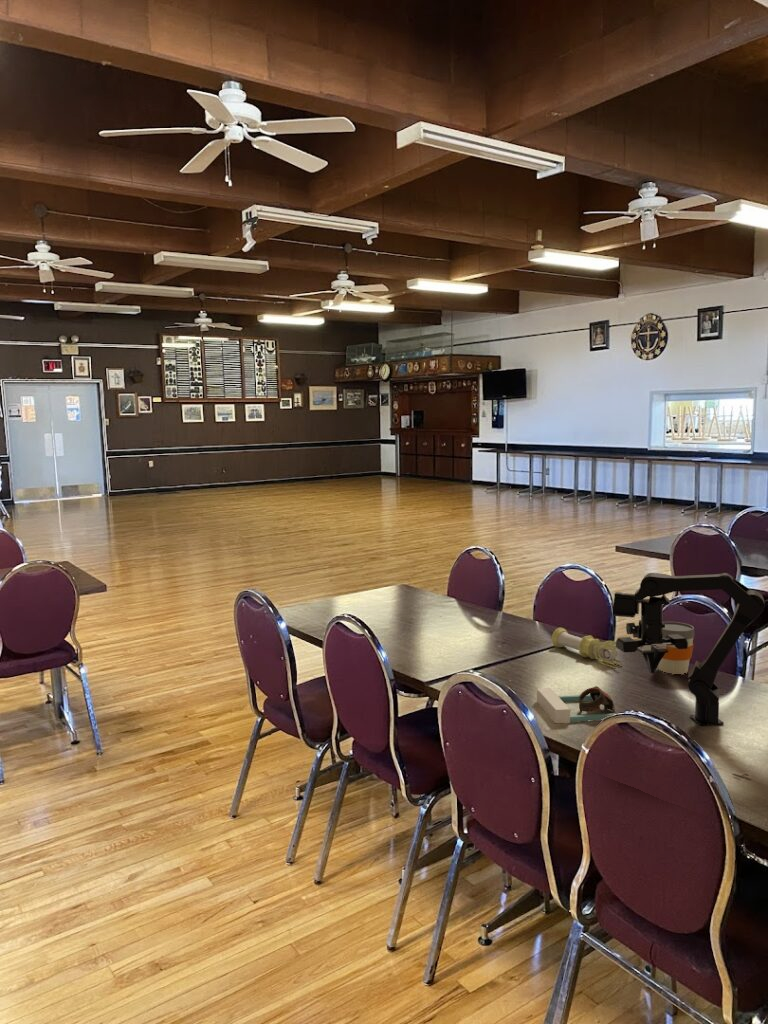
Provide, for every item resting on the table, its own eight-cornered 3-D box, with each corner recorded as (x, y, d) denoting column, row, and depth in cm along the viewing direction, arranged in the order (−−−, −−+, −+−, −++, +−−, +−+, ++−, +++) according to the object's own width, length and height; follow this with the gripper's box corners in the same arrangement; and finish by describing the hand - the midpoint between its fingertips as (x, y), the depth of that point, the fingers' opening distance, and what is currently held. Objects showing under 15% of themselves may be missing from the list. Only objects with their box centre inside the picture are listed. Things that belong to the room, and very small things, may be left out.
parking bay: (624, 720, 204) (624, 706, 203) (555, 724, 202) (556, 709, 201) (600, 698, 220) (600, 685, 220) (536, 701, 218) (536, 688, 218)
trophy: (549, 627, 271) (612, 646, 245) (565, 624, 275) (627, 643, 249) (549, 649, 272) (611, 670, 246) (564, 646, 276) (627, 666, 250)
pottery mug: (620, 721, 204) (608, 698, 202) (588, 733, 207) (575, 710, 205) (614, 696, 215) (602, 674, 213) (584, 707, 218) (572, 685, 216)
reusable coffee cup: (644, 667, 249) (646, 623, 247) (674, 662, 253) (675, 619, 251) (671, 678, 237) (672, 633, 235) (702, 673, 241) (703, 628, 240)
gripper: (670, 610, 215) (669, 662, 216) (608, 613, 213) (608, 666, 214) (689, 619, 204) (688, 674, 205) (624, 623, 202) (624, 678, 203)
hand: (651, 672), depth 207 cm, fingers closed
